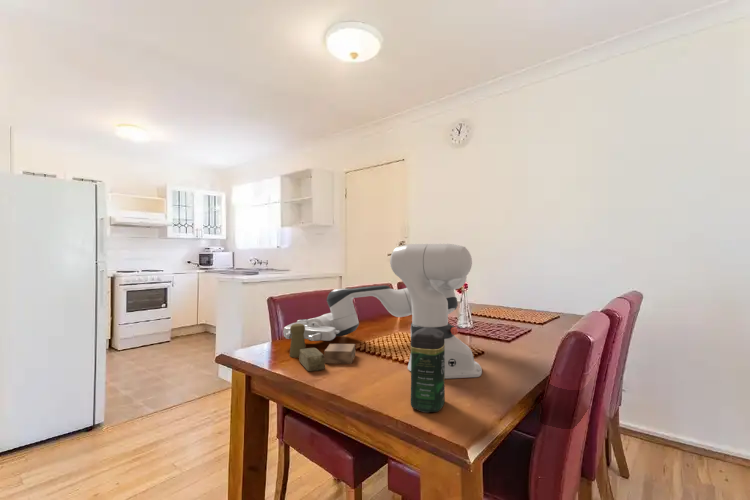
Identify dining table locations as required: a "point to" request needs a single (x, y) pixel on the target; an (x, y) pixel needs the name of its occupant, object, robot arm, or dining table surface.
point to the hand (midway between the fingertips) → (298, 337)
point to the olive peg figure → (297, 339)
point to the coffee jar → (427, 369)
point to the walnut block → (340, 353)
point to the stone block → (312, 359)
